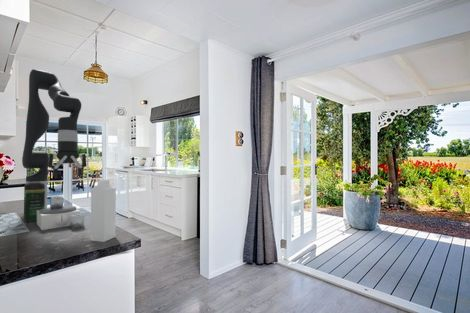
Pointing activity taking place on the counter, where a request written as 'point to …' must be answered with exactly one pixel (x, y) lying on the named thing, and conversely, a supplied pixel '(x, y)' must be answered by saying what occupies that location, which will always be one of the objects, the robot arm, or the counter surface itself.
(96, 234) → the milk
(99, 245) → the counter surface
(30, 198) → the coffee jar
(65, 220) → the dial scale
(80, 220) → the cylinder
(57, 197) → the steel spacer
